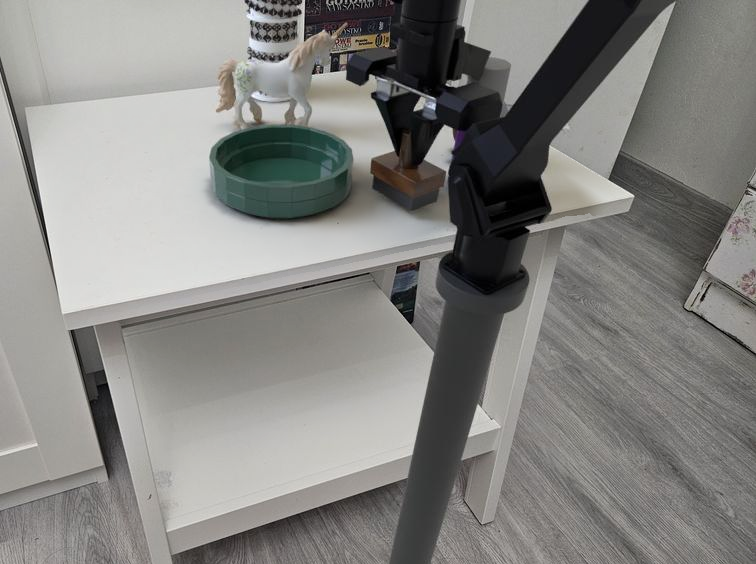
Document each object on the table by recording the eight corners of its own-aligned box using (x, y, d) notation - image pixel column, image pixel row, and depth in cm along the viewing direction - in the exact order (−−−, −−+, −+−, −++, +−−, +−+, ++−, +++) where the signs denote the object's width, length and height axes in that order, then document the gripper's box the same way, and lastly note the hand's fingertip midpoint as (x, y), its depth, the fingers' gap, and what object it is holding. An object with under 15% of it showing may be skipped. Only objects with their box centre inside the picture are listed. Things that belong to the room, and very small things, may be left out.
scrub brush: (441, 202, 77) (452, 137, 71) (410, 214, 75) (420, 148, 69) (398, 178, 81) (406, 116, 76) (368, 188, 79) (374, 125, 74)
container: (444, 175, 84) (466, 56, 74) (479, 176, 84) (506, 56, 74) (451, 193, 81) (475, 69, 71) (488, 193, 81) (517, 70, 71)
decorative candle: (241, 84, 109) (234, -92, 92) (294, 80, 110) (296, -94, 94) (252, 104, 102) (246, -82, 86) (307, 100, 104) (312, -84, 87)
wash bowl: (378, 195, 80) (382, 161, 77) (262, 237, 72) (261, 201, 69) (296, 146, 91) (297, 114, 88) (187, 178, 83) (184, 145, 80)
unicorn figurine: (352, 135, 94) (359, 37, 85) (219, 142, 91) (212, 43, 82) (341, 116, 99) (347, 22, 90) (216, 122, 97) (209, 27, 88)
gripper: (556, 24, 62) (517, 172, 73) (422, -14, 74) (404, 119, 84) (478, 43, 58) (448, 199, 68) (347, -1, 69) (339, 139, 79)
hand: (409, 160), depth 75 cm, fingers closed on scrub brush, 2 cm apart
